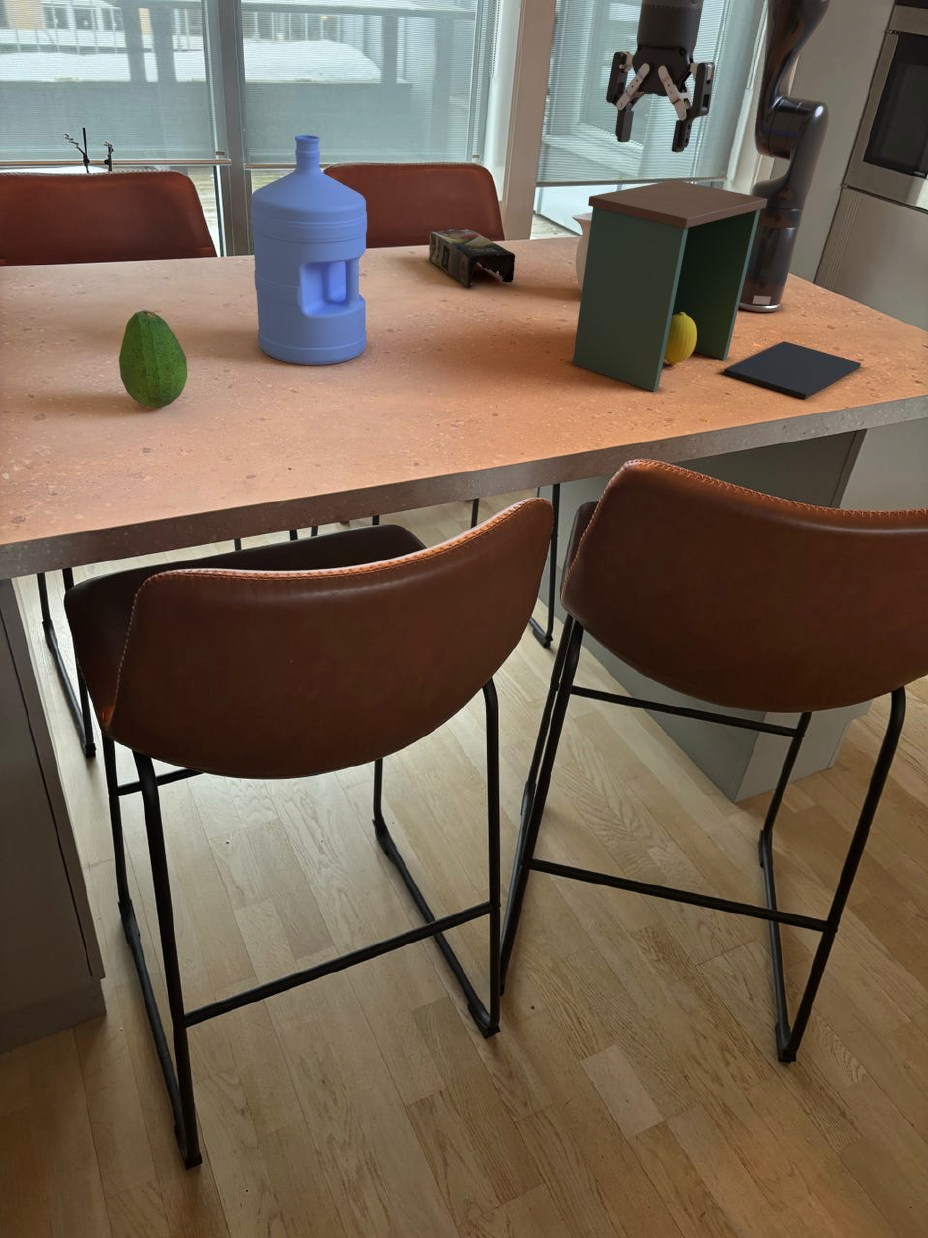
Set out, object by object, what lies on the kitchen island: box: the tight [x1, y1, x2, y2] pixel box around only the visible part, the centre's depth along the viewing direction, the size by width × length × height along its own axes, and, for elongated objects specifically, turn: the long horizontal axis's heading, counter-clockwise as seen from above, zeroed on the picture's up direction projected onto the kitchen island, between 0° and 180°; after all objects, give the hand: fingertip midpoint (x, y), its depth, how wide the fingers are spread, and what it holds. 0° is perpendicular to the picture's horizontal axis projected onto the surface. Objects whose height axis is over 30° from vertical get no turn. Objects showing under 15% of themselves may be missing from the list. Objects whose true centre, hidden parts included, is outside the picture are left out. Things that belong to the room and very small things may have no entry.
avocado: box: [118, 309, 188, 409], centre depth 116 cm, size 8×8×12 cm
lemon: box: [664, 312, 697, 367], centre depth 141 cm, size 6×6×8 cm
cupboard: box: [572, 179, 767, 393], centre depth 138 cm, size 22×15×23 cm
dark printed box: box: [428, 228, 516, 289], centre depth 177 cm, size 20×10×6 cm, turn 24°
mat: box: [723, 340, 862, 400], centre depth 144 cm, size 20×13×1 cm, turn 139°
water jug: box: [250, 134, 368, 366], centre depth 132 cm, size 16×16×28 cm
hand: (649, 146), depth 127 cm, fingers open, 8 cm apart
